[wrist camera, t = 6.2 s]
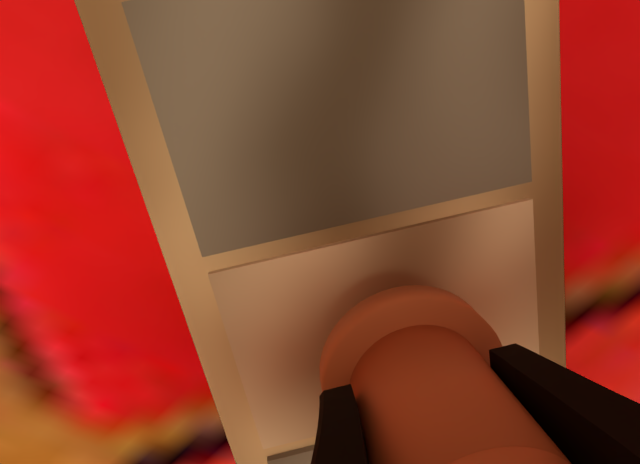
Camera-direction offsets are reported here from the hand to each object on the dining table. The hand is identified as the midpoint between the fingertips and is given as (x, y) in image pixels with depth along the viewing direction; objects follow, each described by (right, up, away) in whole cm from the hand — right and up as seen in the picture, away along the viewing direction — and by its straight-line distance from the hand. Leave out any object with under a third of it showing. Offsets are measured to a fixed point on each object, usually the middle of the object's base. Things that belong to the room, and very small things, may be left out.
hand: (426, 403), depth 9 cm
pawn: (0, 0, +1) cm, 1 cm away
